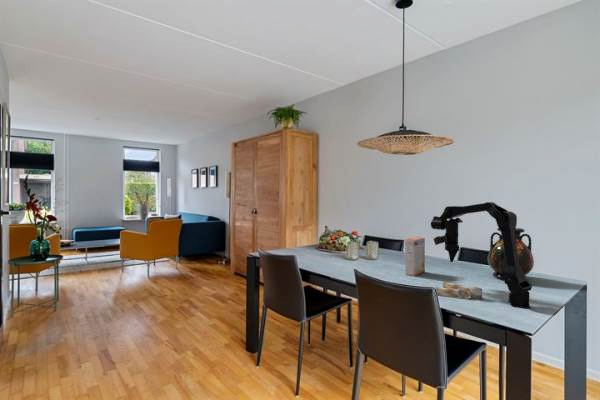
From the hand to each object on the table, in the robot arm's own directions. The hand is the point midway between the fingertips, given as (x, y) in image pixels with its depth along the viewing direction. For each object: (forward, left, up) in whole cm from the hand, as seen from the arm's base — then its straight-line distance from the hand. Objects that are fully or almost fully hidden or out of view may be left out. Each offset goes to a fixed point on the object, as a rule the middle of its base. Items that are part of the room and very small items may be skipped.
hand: (451, 261), depth 161 cm
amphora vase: (-30, -32, -13) cm, 46 cm away
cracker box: (+19, -21, -13) cm, 31 cm away
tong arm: (-4, +10, -13) cm, 17 cm away
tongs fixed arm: (0, +16, -13) cm, 20 cm away
